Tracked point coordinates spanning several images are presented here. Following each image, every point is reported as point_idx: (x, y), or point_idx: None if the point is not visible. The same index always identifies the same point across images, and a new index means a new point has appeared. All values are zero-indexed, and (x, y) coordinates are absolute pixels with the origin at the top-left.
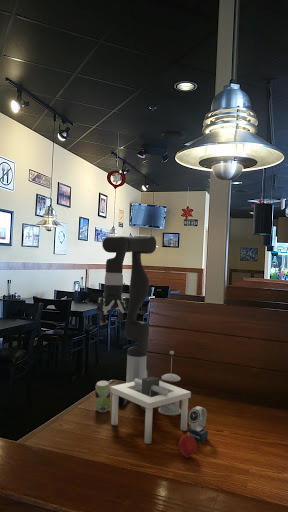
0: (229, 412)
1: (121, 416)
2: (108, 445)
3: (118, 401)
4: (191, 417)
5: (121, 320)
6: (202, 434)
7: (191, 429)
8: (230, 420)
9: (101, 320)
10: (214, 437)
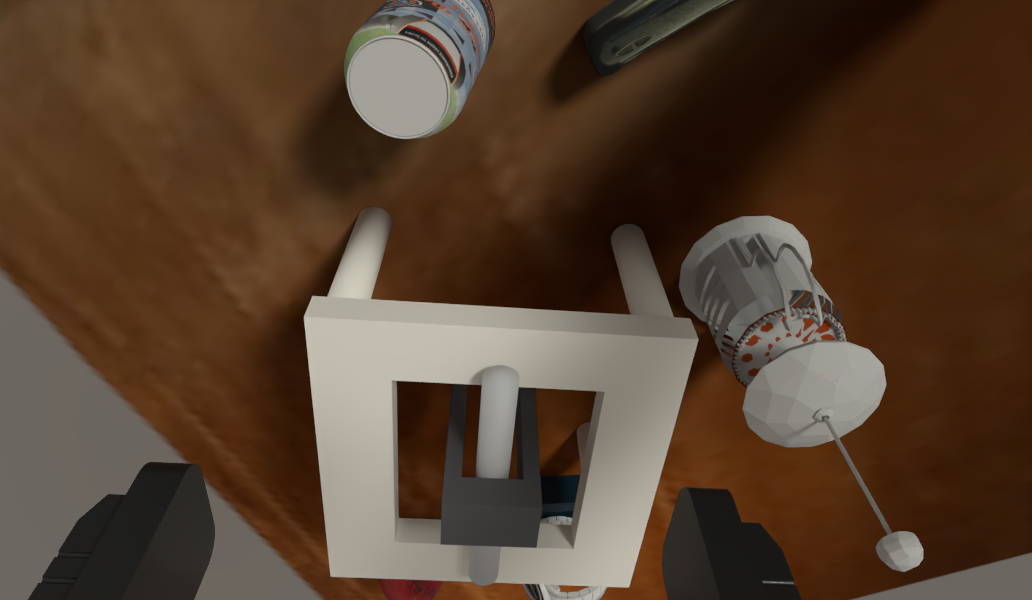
0: (911, 442)
1: (475, 171)
2: (223, 358)
3: (586, 32)
4: None
5: (675, 595)
6: None
7: (543, 511)
8: (815, 483)
9: (85, 546)
10: None
